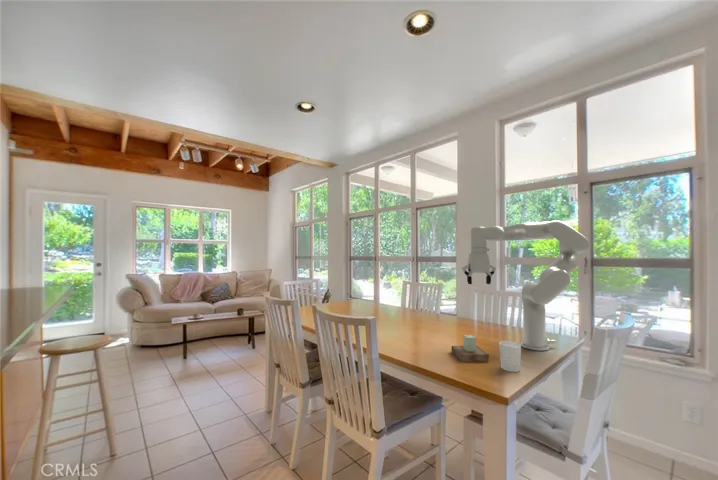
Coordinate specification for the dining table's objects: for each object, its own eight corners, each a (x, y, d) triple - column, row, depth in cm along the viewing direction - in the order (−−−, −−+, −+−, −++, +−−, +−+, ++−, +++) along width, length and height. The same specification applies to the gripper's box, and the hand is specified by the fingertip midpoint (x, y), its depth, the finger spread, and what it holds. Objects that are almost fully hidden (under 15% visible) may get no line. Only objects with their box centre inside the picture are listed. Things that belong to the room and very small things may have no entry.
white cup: (495, 365, 126) (495, 341, 126) (513, 364, 126) (513, 340, 127) (506, 373, 118) (506, 347, 118) (525, 372, 118) (525, 346, 119)
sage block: (472, 348, 138) (472, 335, 138) (475, 351, 134) (475, 337, 134) (463, 348, 138) (463, 335, 138) (466, 351, 134) (466, 337, 134)
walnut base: (476, 352, 142) (476, 345, 142) (488, 361, 130) (488, 354, 130) (451, 352, 141) (451, 345, 141) (461, 361, 129) (461, 354, 129)
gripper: (491, 250, 161) (492, 283, 160) (459, 250, 160) (459, 283, 159) (498, 250, 153) (499, 284, 153) (465, 250, 153) (465, 284, 152)
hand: (479, 284), depth 156 cm, fingers open, 9 cm apart
